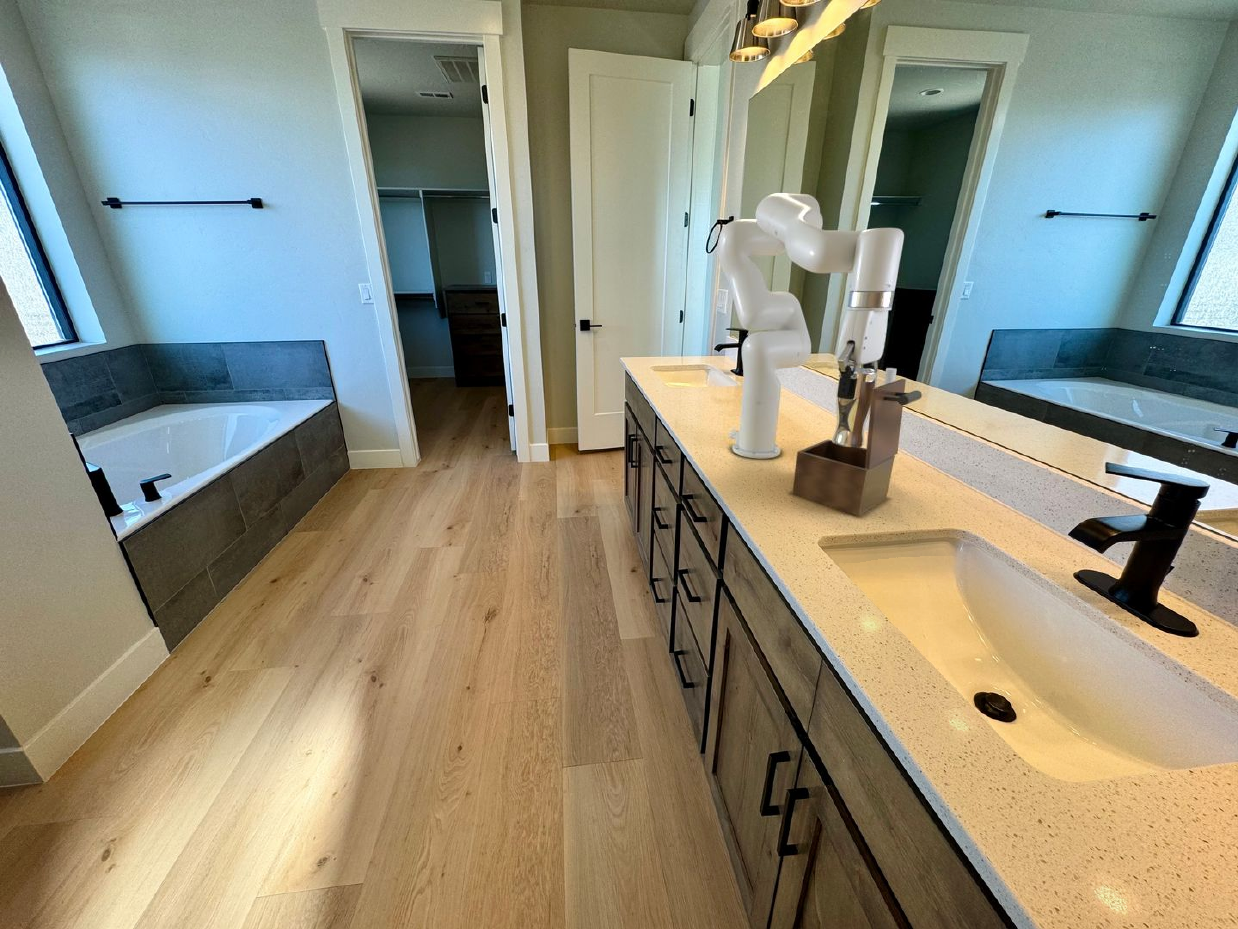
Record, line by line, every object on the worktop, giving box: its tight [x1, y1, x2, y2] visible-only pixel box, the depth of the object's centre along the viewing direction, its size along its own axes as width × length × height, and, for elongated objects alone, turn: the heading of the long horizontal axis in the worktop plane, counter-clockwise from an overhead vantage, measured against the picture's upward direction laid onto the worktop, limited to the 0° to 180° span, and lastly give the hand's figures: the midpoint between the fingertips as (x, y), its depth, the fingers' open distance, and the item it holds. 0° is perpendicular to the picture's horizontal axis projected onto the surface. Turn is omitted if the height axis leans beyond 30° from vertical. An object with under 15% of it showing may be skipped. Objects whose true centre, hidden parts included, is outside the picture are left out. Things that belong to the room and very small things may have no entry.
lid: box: [865, 378, 923, 469], centre depth 93 cm, size 15×13×5 cm
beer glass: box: [831, 367, 879, 448], centre depth 99 cm, size 7×7×15 cm
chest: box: [791, 438, 896, 517], centre depth 104 cm, size 15×13×10 cm
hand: (855, 394), depth 98 cm, fingers closed on beer glass, 7 cm apart
